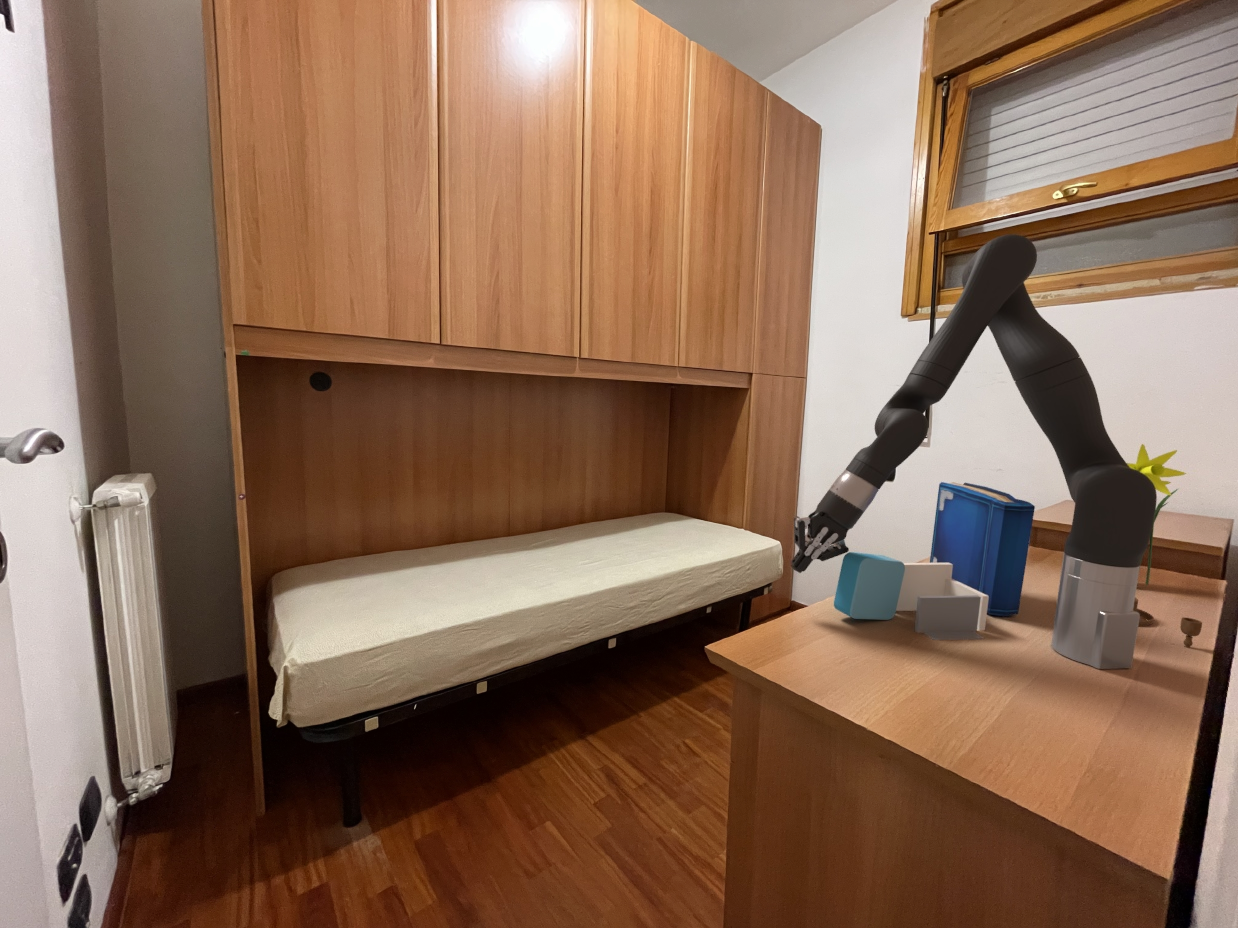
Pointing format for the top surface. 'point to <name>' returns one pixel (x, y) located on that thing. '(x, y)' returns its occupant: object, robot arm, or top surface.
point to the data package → (869, 586)
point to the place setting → (1187, 626)
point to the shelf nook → (942, 602)
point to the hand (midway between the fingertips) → (795, 569)
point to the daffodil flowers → (1155, 483)
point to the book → (984, 541)
